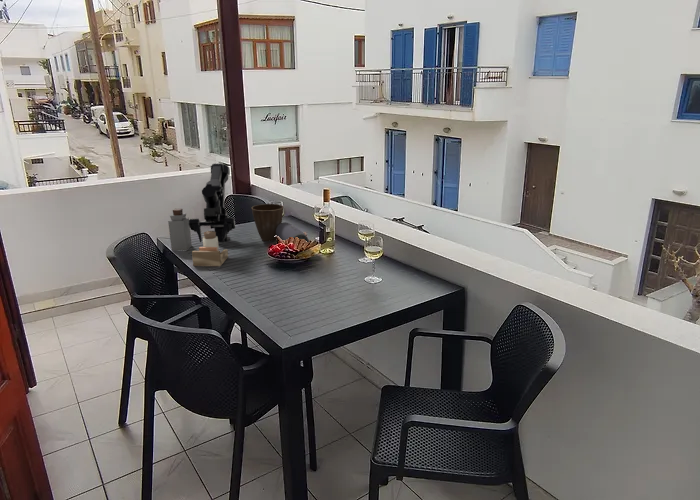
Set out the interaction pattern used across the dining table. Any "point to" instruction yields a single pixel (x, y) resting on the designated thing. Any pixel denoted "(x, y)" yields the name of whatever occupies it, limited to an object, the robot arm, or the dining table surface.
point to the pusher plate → (208, 249)
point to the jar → (210, 239)
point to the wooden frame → (209, 258)
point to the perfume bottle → (179, 231)
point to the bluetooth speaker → (289, 232)
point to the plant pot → (267, 220)
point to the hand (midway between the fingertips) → (211, 241)
